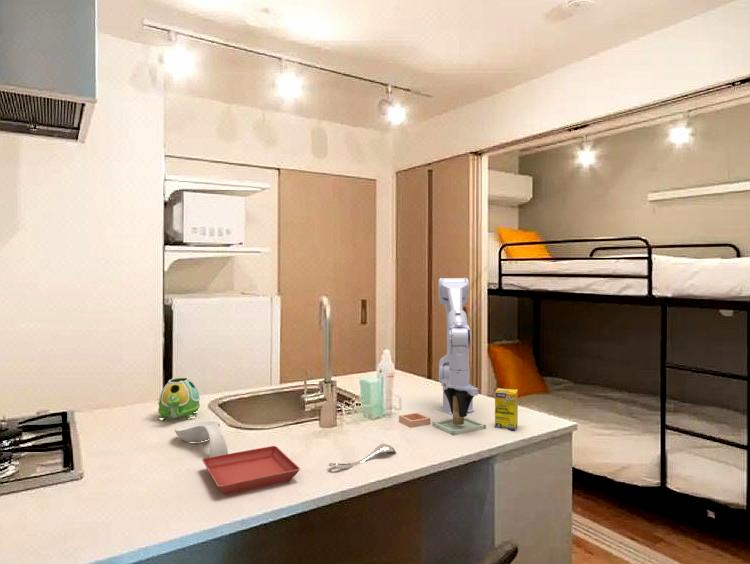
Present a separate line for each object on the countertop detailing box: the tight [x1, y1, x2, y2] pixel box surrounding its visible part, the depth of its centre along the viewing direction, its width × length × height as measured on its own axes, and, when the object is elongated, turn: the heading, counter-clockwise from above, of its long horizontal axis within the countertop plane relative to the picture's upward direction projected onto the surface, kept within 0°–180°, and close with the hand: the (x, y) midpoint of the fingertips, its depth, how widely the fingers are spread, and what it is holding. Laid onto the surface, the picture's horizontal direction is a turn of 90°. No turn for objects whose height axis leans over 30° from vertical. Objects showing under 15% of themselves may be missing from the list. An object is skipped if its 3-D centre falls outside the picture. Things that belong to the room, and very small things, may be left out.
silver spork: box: [328, 443, 397, 470], centre depth 124 cm, size 20×4×5 cm
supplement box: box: [494, 387, 519, 432], centre depth 151 cm, size 6×6×11 cm
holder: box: [398, 412, 431, 428], centre depth 154 cm, size 7×7×2 cm
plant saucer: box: [201, 445, 301, 495], centre depth 116 cm, size 18×18×3 cm
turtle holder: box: [157, 377, 201, 419], centre depth 160 cm, size 12×18×12 cm
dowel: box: [452, 395, 464, 425], centre depth 149 cm, size 3×3×8 cm
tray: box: [432, 416, 487, 436], centre depth 149 cm, size 12×10×1 cm
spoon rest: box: [174, 420, 229, 458], centre depth 136 cm, size 24×12×7 cm, turn 37°
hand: (459, 414), depth 149 cm, fingers closed on dowel, 3 cm apart
